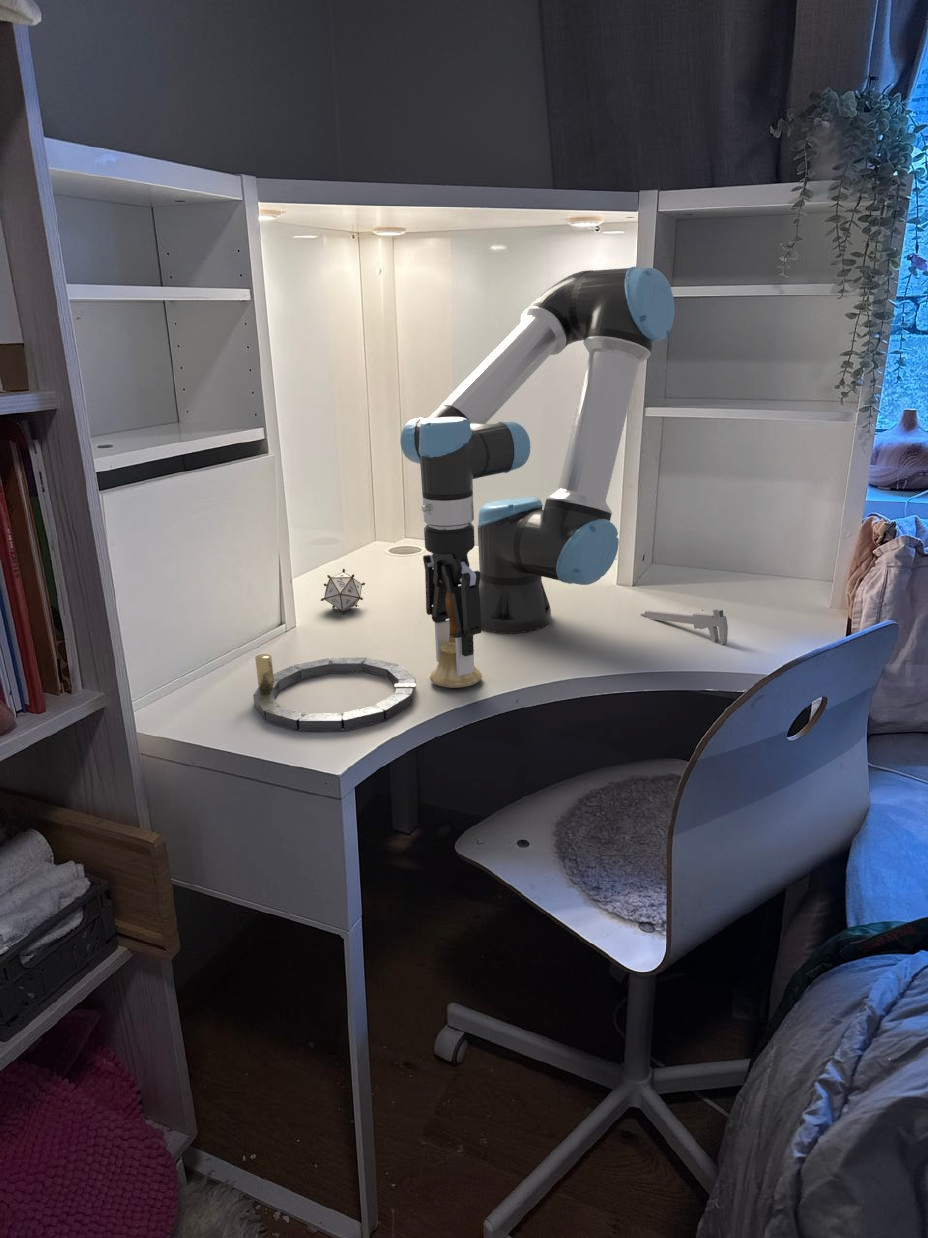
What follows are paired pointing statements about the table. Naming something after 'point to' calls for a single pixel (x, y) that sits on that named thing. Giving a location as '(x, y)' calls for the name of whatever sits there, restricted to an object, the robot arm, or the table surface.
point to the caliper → (697, 622)
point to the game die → (343, 591)
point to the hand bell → (452, 658)
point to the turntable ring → (330, 721)
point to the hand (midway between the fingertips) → (455, 666)
